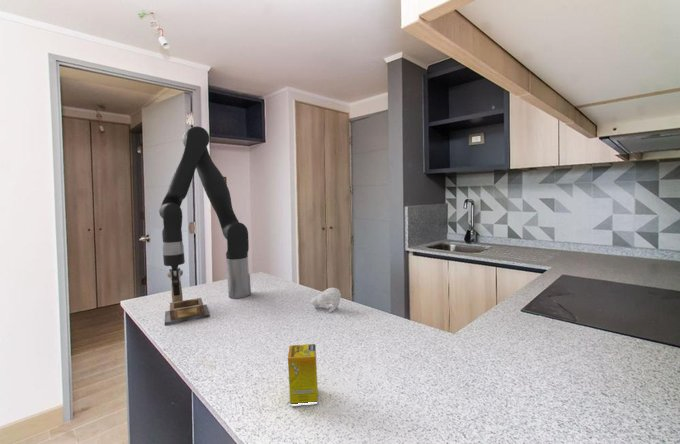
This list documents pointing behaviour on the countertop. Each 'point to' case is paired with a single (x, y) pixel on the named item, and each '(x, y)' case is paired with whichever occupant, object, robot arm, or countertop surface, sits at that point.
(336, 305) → the white animal figurine
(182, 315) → the socket
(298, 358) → the supplement box
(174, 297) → the handle
